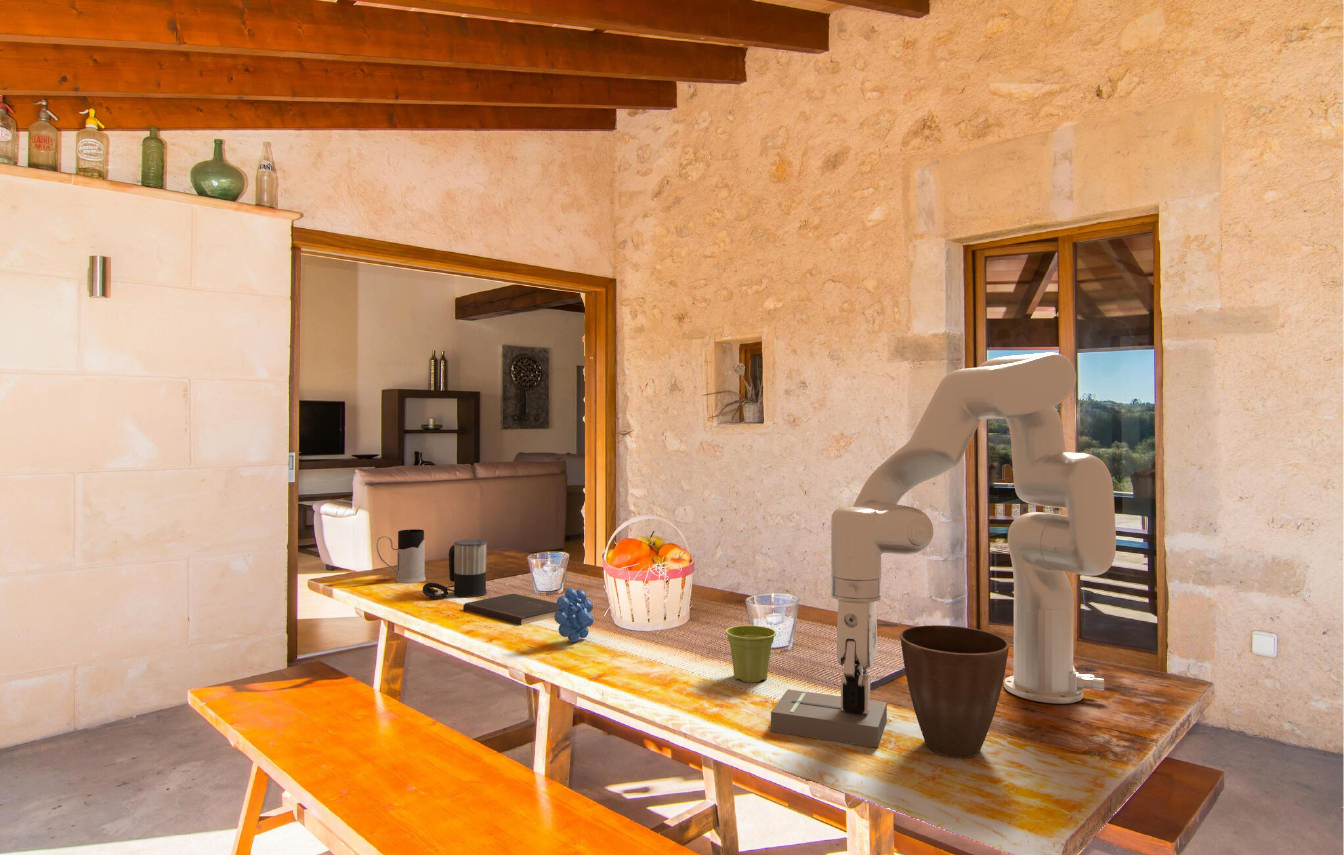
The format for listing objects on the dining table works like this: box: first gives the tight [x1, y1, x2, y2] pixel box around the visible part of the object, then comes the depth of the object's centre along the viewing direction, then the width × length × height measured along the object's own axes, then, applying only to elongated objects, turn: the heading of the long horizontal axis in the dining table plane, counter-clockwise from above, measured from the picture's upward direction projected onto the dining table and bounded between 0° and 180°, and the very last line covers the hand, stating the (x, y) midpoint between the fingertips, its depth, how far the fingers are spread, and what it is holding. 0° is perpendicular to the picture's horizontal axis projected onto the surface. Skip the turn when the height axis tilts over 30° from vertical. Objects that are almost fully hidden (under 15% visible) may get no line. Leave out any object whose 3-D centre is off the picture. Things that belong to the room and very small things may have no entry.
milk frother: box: [422, 538, 488, 599], centre depth 213 cm, size 14×16×15 cm
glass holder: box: [376, 528, 427, 584], centre depth 233 cm, size 9×14×15 cm, turn 108°
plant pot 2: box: [899, 624, 1010, 759], centre depth 113 cm, size 15×15×16 cm
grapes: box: [553, 587, 595, 643], centre depth 167 cm, size 12×7×12 cm, turn 145°
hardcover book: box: [462, 593, 561, 626], centre depth 195 cm, size 16×23×2 cm
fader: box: [840, 672, 871, 714], centre depth 119 cm, size 4×3×5 cm
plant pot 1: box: [725, 625, 777, 683], centre depth 144 cm, size 9×9×9 cm
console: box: [770, 689, 888, 749], centre depth 120 cm, size 16×11×3 cm
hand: (855, 705), depth 119 cm, fingers closed on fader, 3 cm apart
